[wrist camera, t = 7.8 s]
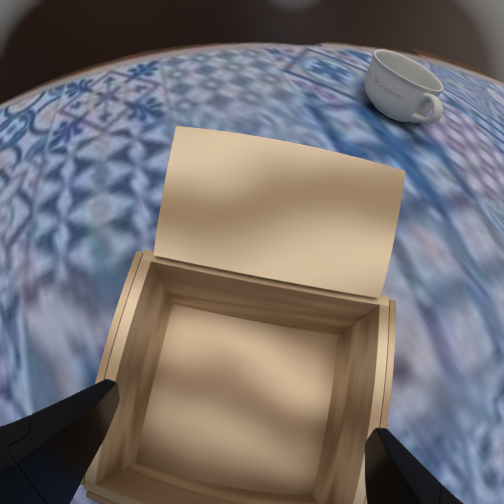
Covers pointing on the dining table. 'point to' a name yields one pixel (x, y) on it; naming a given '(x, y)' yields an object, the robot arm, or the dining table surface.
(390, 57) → the teacup
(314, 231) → the flap
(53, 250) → the dining table surface
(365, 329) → the tan wooden open box
